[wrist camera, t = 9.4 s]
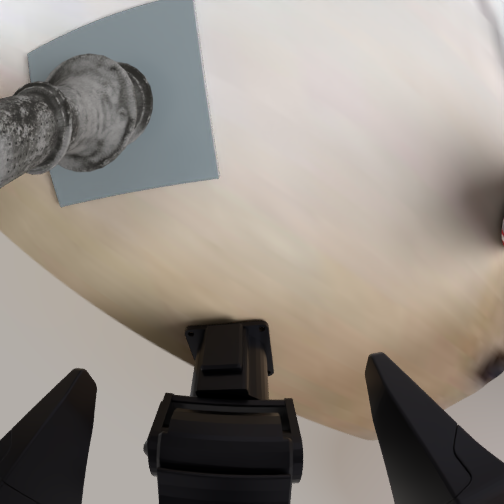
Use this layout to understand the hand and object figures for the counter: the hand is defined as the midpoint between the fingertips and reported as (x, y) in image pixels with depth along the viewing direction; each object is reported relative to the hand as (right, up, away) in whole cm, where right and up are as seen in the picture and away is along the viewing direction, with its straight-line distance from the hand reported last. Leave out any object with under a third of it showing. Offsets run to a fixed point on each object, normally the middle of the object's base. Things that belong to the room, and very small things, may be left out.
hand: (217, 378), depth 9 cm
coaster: (-7, +12, +7) cm, 16 cm away
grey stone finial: (-7, +12, +6) cm, 15 cm away
